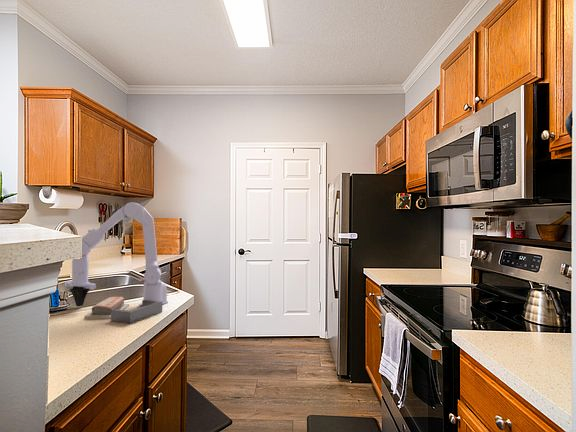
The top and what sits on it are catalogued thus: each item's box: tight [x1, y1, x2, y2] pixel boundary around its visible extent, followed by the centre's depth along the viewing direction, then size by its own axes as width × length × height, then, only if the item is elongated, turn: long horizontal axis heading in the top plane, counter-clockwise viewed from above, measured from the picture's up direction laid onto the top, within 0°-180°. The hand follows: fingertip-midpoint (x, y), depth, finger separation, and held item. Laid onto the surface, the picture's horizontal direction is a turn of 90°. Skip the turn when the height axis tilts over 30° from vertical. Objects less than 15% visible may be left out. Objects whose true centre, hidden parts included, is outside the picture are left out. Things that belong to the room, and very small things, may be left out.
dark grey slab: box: [110, 299, 163, 325], centre depth 134 cm, size 17×8×4 cm, turn 161°
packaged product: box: [84, 296, 130, 320], centre depth 139 cm, size 18×5×10 cm
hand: (79, 305), depth 143 cm, fingers closed
